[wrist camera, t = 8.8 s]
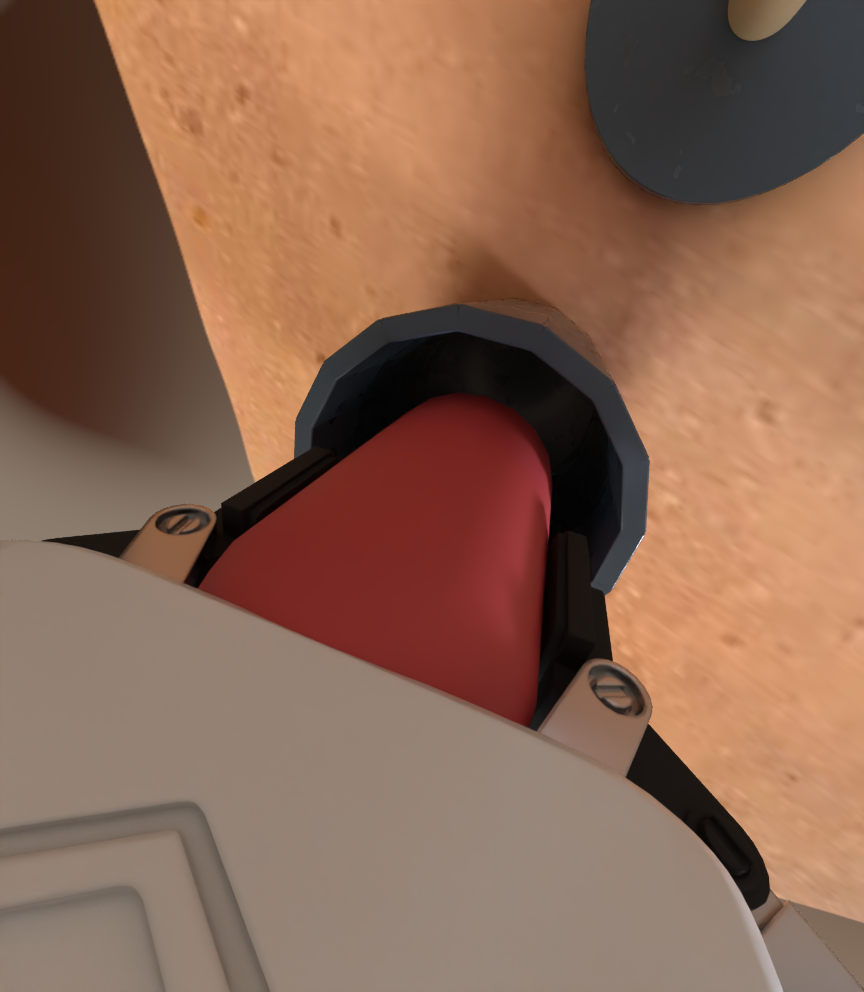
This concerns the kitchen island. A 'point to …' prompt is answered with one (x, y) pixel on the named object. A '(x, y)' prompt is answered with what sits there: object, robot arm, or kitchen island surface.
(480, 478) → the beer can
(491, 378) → the tin
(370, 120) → the kitchen island surface
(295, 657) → the robot arm
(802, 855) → the kitchen island surface
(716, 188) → the lid
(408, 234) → the kitchen island surface
